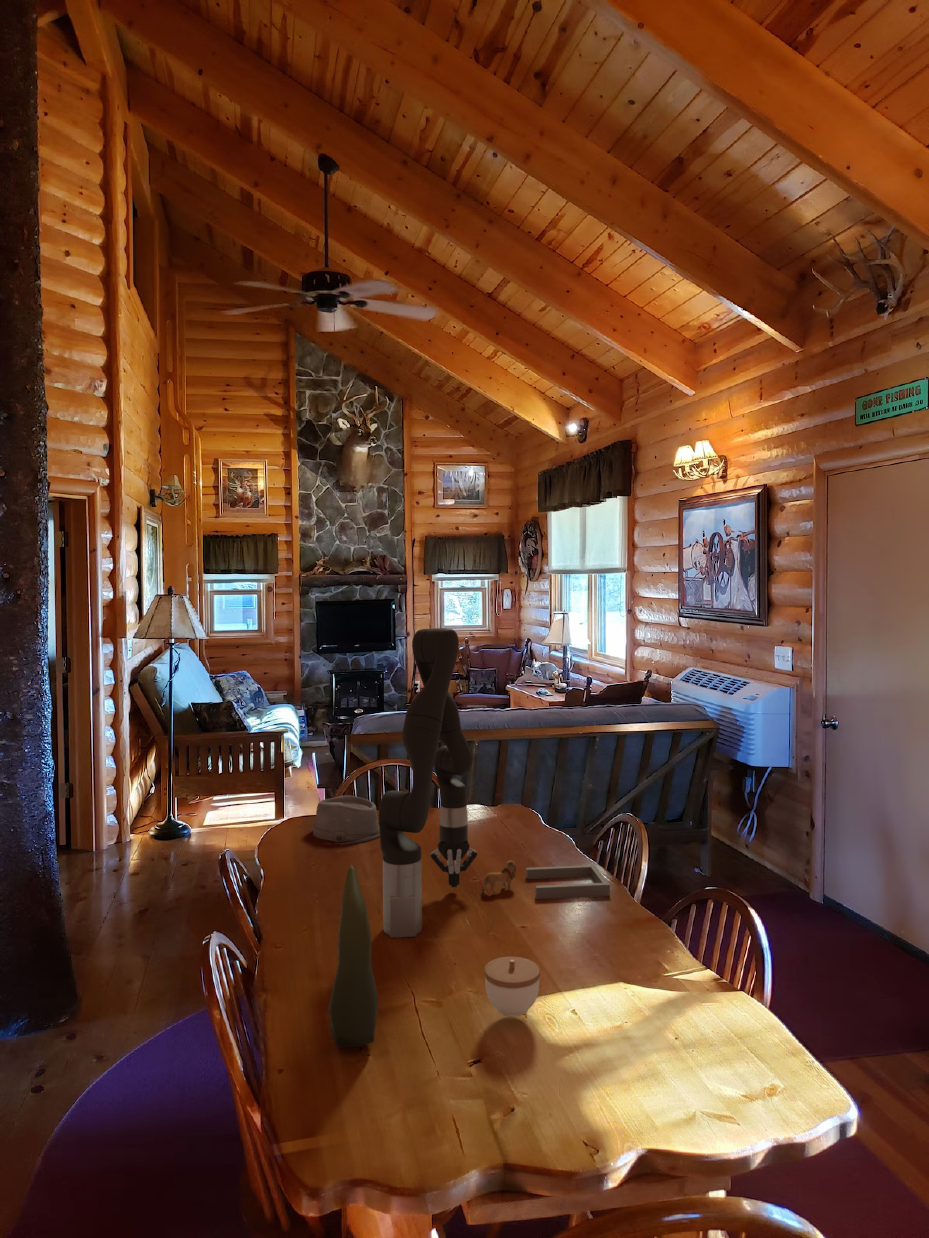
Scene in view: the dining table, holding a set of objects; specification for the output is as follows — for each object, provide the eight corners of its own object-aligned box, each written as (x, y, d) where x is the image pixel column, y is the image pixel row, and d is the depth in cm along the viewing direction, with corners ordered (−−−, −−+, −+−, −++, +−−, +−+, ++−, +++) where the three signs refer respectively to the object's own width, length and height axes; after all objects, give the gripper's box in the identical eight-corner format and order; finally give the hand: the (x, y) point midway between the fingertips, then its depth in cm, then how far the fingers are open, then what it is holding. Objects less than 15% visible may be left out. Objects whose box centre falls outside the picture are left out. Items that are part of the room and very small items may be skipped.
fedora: (325, 822, 279) (325, 787, 278) (398, 830, 269) (397, 793, 269) (287, 844, 256) (287, 805, 255) (365, 853, 247) (365, 813, 246)
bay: (609, 895, 211) (609, 884, 211) (536, 899, 209) (536, 887, 209) (594, 875, 226) (594, 864, 226) (526, 878, 224) (526, 867, 224)
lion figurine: (509, 883, 220) (509, 857, 220) (520, 888, 217) (520, 861, 217) (476, 894, 213) (476, 867, 212) (487, 899, 209) (487, 871, 209)
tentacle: (374, 1017, 152) (372, 860, 151) (383, 1053, 140) (381, 884, 139) (325, 1023, 150) (323, 865, 149) (330, 1061, 138) (328, 889, 137)
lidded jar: (474, 1014, 153) (474, 966, 153) (498, 989, 162) (498, 943, 162) (526, 1028, 148) (526, 978, 148) (548, 1001, 158) (548, 954, 157)
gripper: (429, 827, 209) (429, 892, 210) (480, 825, 211) (480, 890, 211) (427, 818, 217) (428, 882, 217) (476, 816, 218) (476, 880, 219)
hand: (453, 886), depth 214 cm, fingers closed
